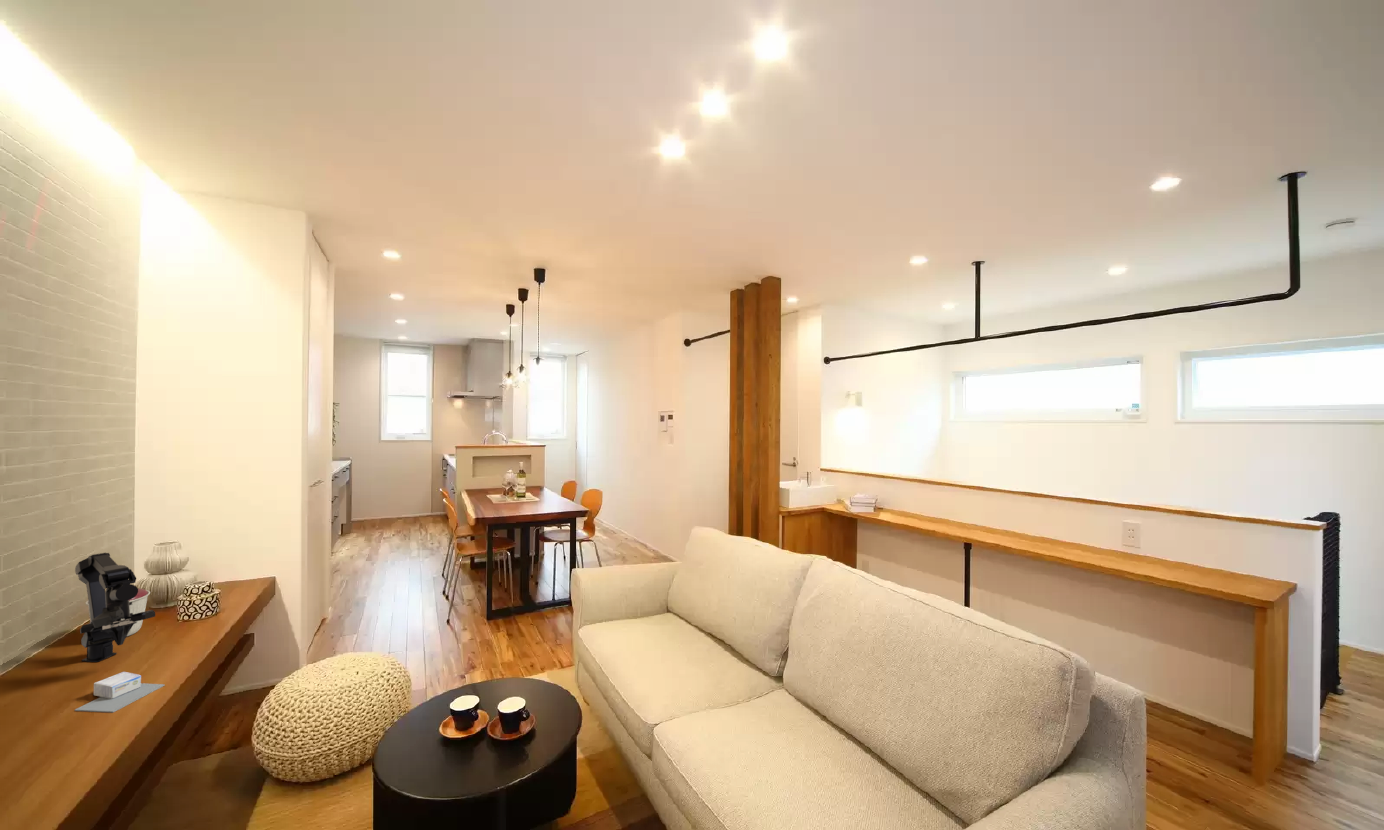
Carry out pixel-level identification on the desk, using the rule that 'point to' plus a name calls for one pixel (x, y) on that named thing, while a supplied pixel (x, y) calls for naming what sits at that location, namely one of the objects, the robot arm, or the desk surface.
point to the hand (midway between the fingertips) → (120, 644)
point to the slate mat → (119, 699)
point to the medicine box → (117, 685)
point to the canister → (135, 608)
